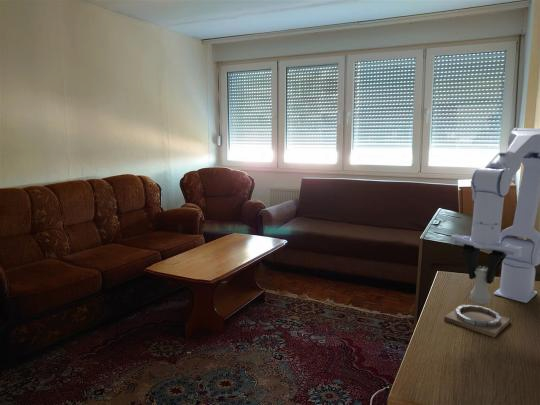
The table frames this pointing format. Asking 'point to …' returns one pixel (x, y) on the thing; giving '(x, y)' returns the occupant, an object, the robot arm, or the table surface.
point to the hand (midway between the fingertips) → (481, 280)
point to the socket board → (478, 319)
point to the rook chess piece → (480, 287)
